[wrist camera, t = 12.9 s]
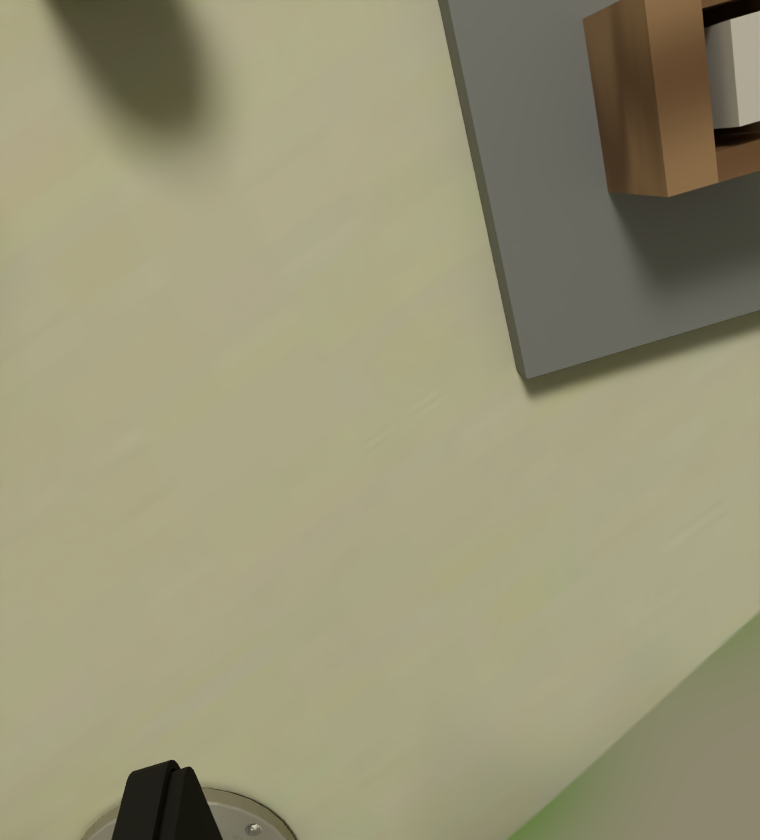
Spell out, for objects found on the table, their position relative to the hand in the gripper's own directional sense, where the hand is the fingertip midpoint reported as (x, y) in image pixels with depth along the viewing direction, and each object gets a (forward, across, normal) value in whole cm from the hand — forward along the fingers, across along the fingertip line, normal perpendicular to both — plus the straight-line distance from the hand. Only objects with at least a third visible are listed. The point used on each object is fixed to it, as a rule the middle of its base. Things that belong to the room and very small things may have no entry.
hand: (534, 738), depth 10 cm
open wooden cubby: (+21, -15, -8) cm, 27 cm away
